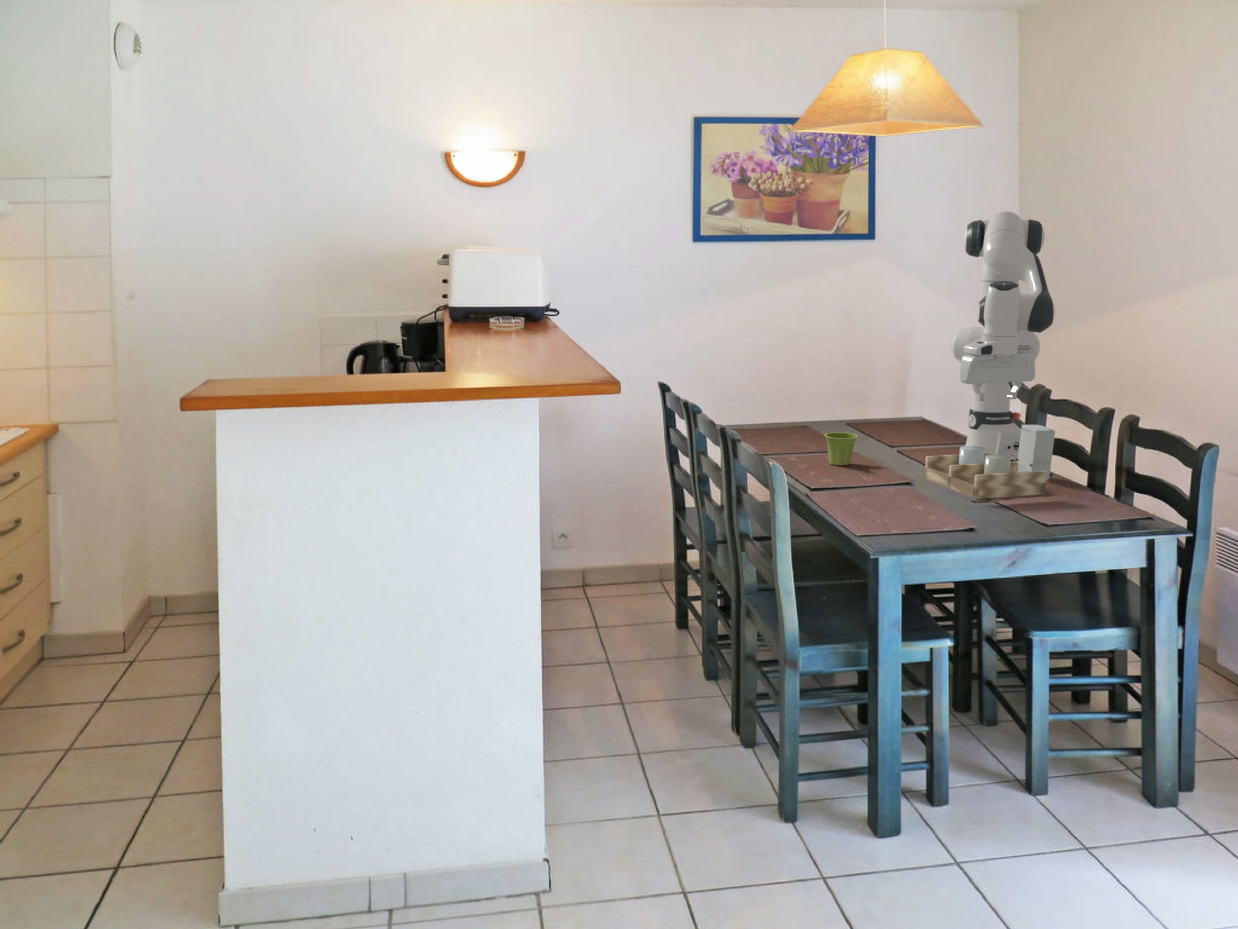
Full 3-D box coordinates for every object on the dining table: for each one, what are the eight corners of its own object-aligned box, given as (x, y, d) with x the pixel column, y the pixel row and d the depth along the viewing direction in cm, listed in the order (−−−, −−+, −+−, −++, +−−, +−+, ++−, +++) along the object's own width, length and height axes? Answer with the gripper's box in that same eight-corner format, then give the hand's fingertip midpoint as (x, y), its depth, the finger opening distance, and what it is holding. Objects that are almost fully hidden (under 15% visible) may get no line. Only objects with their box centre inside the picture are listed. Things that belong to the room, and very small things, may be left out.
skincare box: (1015, 476, 312) (1019, 424, 309) (1034, 475, 314) (1039, 423, 310) (1031, 483, 304) (1035, 429, 301) (1051, 482, 305) (1055, 429, 302)
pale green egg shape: (999, 487, 294) (1001, 453, 292) (1013, 492, 288) (1016, 458, 286) (977, 488, 293) (980, 455, 291) (991, 494, 286) (994, 459, 285)
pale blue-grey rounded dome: (973, 477, 305) (976, 445, 304) (987, 482, 299) (989, 449, 297) (953, 478, 304) (955, 446, 302) (966, 484, 298) (968, 451, 296)
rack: (988, 478, 310) (990, 452, 309) (1043, 498, 287) (1046, 471, 285) (924, 482, 305) (925, 456, 304) (975, 503, 282) (977, 475, 280)
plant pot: (856, 468, 323) (857, 438, 321) (823, 466, 325) (824, 437, 323) (856, 461, 332) (857, 433, 330) (823, 460, 334) (825, 431, 332)
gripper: (1027, 343, 290) (1023, 396, 293) (958, 346, 285) (954, 399, 288) (1042, 346, 284) (1038, 399, 287) (971, 349, 279) (968, 403, 282)
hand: (996, 399), depth 288 cm, fingers open, 8 cm apart
